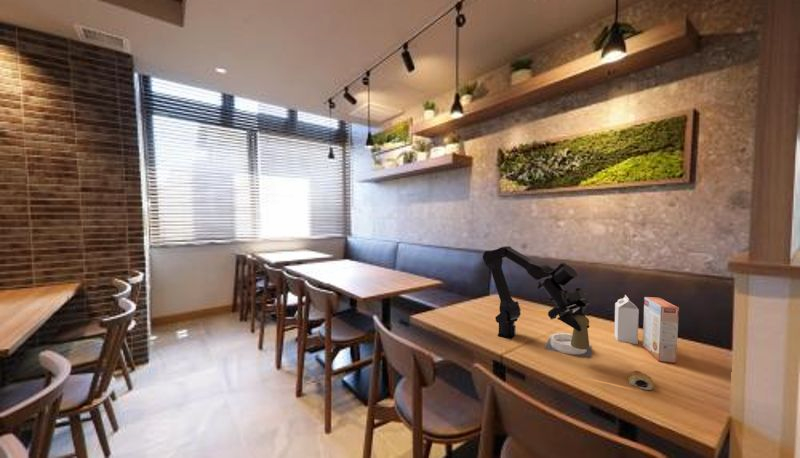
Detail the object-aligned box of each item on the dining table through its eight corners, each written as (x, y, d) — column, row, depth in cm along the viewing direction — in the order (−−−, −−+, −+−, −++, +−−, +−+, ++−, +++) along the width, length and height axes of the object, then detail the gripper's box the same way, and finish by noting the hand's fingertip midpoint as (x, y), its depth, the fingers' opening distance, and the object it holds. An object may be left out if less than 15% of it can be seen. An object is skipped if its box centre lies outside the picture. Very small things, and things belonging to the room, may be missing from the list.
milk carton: (633, 338, 140) (635, 295, 139) (637, 345, 134) (639, 299, 132) (614, 336, 143) (615, 293, 142) (617, 342, 136) (618, 297, 135)
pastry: (626, 374, 110) (626, 363, 110) (651, 379, 107) (651, 368, 107) (628, 387, 102) (629, 375, 102) (655, 393, 99) (656, 381, 98)
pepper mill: (592, 350, 114) (593, 319, 113) (574, 348, 115) (575, 318, 114) (585, 343, 120) (586, 314, 119) (568, 341, 121) (569, 313, 120)
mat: (544, 350, 129) (544, 349, 129) (549, 339, 140) (549, 338, 140) (591, 360, 121) (591, 358, 120) (592, 347, 132) (592, 346, 131)
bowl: (548, 350, 128) (548, 341, 128) (552, 338, 139) (553, 331, 139) (586, 357, 121) (586, 348, 121) (587, 345, 132) (587, 337, 132)
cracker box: (677, 364, 117) (680, 307, 116) (658, 361, 119) (659, 305, 117) (659, 348, 130) (661, 297, 129) (641, 346, 132) (643, 296, 131)
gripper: (556, 283, 114) (587, 323, 106) (585, 277, 124) (615, 313, 116) (536, 300, 121) (563, 338, 113) (564, 293, 131) (591, 328, 123)
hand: (584, 329), depth 116 cm, fingers closed on pepper mill, 5 cm apart
